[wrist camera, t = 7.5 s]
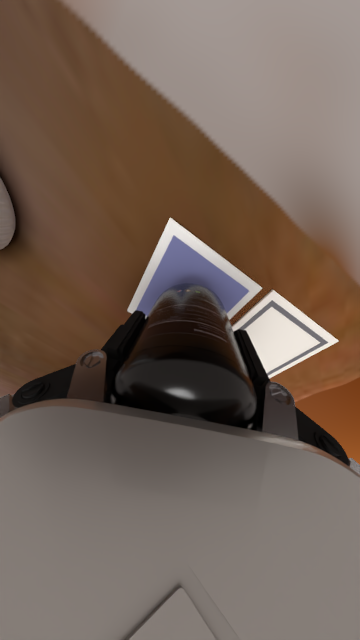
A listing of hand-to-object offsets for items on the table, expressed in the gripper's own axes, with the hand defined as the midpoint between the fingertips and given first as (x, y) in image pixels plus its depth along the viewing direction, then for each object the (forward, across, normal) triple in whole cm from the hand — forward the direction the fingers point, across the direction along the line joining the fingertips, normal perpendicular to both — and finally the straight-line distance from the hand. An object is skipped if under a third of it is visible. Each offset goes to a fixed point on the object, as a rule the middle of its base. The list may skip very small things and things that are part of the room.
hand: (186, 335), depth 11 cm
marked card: (+8, -13, +6) cm, 16 cm away
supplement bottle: (+3, 0, 0) cm, 3 cm away
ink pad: (+8, 0, 0) cm, 8 cm away
